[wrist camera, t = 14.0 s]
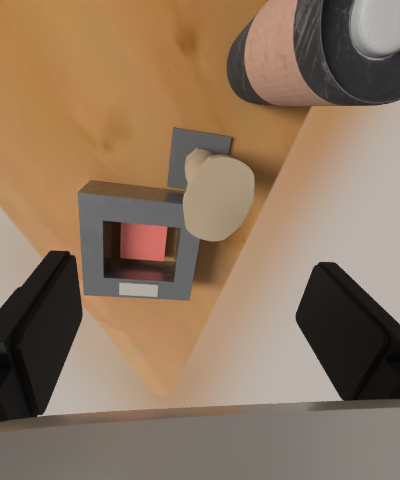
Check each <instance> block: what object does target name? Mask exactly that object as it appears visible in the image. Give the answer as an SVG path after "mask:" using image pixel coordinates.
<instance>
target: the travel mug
mask: <svg viewBox="0 0 400 480" xmlns="http://www.w3.org/2000/svg"><path fill="white" fill-rule="evenodd" d="M227 75H228V80H229V83H230V85H231V87H232V89H233V91H234V92H235V93H236V94H237V95H238V96H239V97H240V98H241V99H243V100H245V101H247V102H251V103H257V104H266V105H275V106H368V105H382V104H388V103H391V102H395V101H398V100H400V0H269V1H268V2H267V3H266V4H265V5H264V6H263V7H262V8H261V9H260V10H259V12H258V13H257V14H256V15H255V16H254V18H253V19H252V20H251V21H250V22H249V24H248V25H247V26H246V27H245V28H244V30H243V31H242V32H241V33H240V34H239V36H238V37H237V38H236V40H235V41H234V43H233V45H232V47H231V49H230V52H229V55H228V60H227Z"/></svg>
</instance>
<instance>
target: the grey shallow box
mask: <svg viewBox="0 0 400 480" xmlns="http://www.w3.org/2000/svg"><path fill="white" fill-rule="evenodd" d="M184 193H185V192H183V191H175V190H167V189H158V188H150V187H142V186H133V185H125V184H117V183H108V182H100V181H92V180H90V181H89V182H88V183H87V184H86V185H85V186H84V187H83V188H82V189H81V190H80V191H79V192H78V204H79V220H80V237H81V253H82V270H83V287H84V295H91V296H111V297H131V298H151V299H171V300H190V294H191V288H192V283H193V277H194V271H195V266H196V260H197V254H198V248H199V243H200V238H197V237H195V236H193V235H192V234H191V233H190V232H189V231H188V230H187V229H186V227H185V220H184V212H183V197H184ZM111 221H113V222H123V223H134V224H144V225H155V226H165V227H175V228H178V230H177V237H176V245H175V253H174V261H173V262H168V261H154V260H140V259H127V258H114V257H111Z"/></svg>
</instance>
